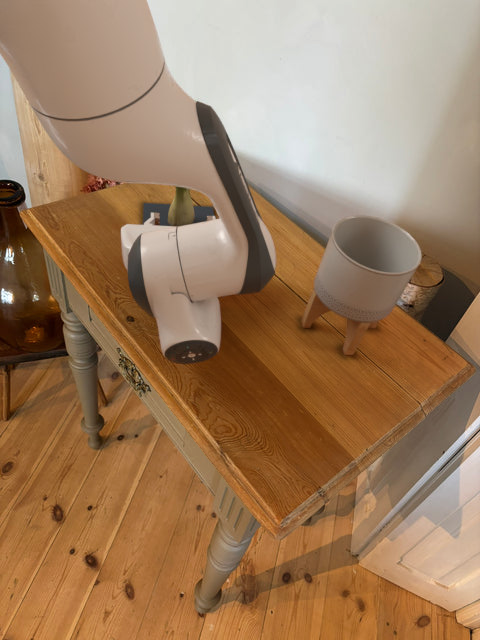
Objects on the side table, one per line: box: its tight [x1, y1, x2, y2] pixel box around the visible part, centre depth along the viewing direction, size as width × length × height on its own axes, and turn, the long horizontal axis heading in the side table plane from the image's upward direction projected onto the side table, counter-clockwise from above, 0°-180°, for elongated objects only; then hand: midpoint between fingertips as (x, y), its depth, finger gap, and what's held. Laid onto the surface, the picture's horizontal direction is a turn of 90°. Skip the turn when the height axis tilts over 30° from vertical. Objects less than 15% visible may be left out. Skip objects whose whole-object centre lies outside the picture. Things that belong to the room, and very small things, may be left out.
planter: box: [300, 214, 422, 356], centre depth 72 cm, size 13×13×18 cm
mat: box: [142, 202, 215, 226], centre depth 90 cm, size 14×13×1 cm
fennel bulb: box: [168, 186, 194, 227], centre depth 85 cm, size 6×5×12 cm
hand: (183, 217), depth 79 cm, fingers open, 8 cm apart
